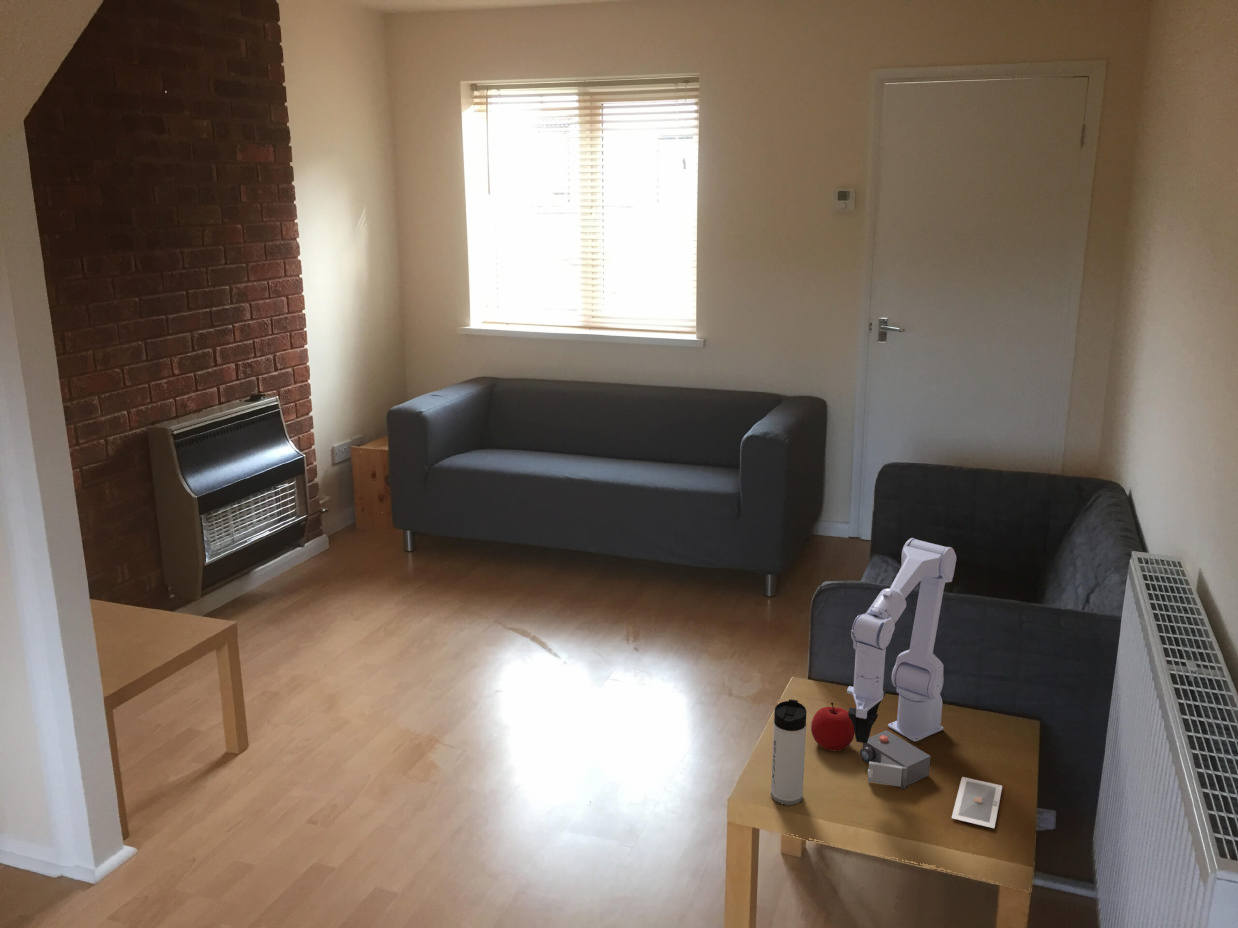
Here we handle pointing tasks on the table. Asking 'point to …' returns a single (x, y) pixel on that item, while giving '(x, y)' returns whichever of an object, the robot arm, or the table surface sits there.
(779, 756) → the travel mug
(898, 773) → the door
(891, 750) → the camera body
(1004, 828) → the table surface
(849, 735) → the apple
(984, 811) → the touchpad
